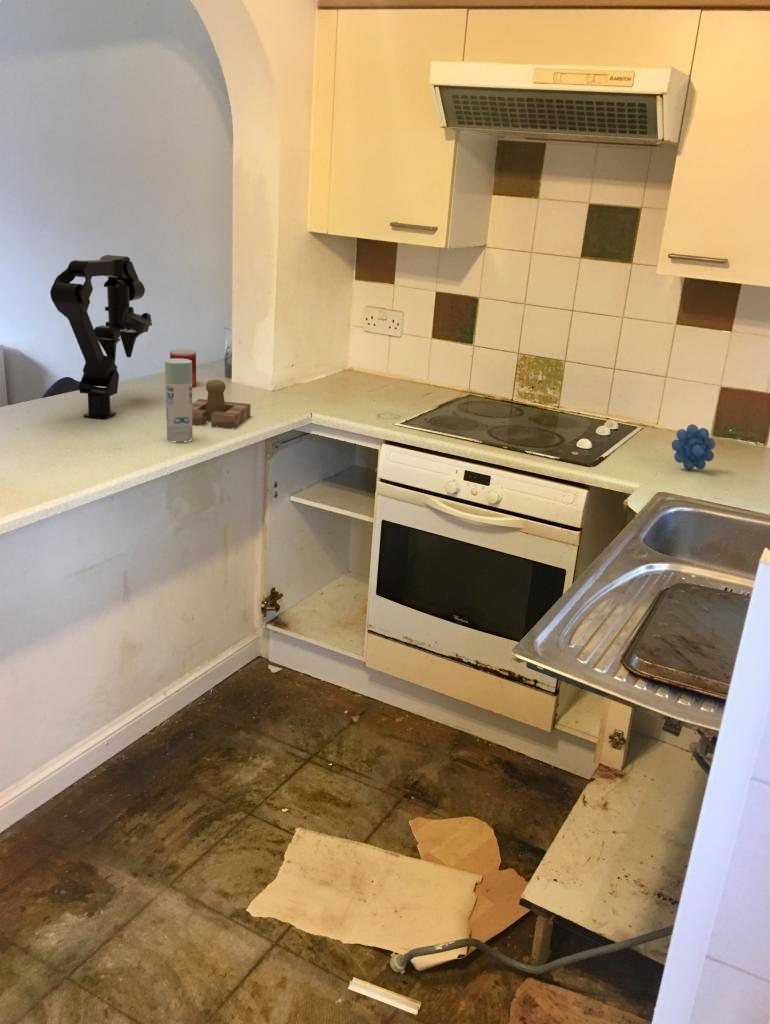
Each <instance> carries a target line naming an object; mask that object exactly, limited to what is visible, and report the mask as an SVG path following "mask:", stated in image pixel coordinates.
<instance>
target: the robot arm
mask: <svg viewBox="0 0 770 1024" xmlns="http://www.w3.org/2000/svg"><path fill="white" fill-rule="evenodd" d="M102 276H103V277H106V278H107V279H106V281H105V282H104V283H103V287H104V288H107V289H106V291H107V293H106V294H107V306H104V312H105V311H106V312H107V314H108V321H105V325H98V326H95V327H93V323H92V321H91V318H90V316H89V312H88V310H89V306H90V303H91V300H90V297H91V295H92V293H93V291H94V287H93V284H92V283H93V282H92V277H102ZM77 277H78V278H84V279H85V281H84V283H83V284H81V283H74V282H73V281H74V280H75V278H77ZM71 282H73V283H71ZM145 292H146V288H145V286H144V284H143V282H142V281H141V280H140V279H139V276H138V273H137V272H136V269H135V267H134V263H133V262H132V261H131V258H130V257H129V256H126V255H125V256H124V255H123V256H122V255H113V254H105V255H103V256H101V257H100V259H97V260H95V259H94V260H93V259H92V260H91V259H90V260H78V259H74V260H71V261H70V262H69V263H68V266H67V268H66V269H64V270H62V272H61V273H60V274H58V275H57V276H56V277H55V280H54V282H53V284H52V286H51V288H50V293H49V295H50V299H51V301H52V303H53V305H54V307H55V308H56V310H57V311H58V312H59V313H60V314H61V315H62V316H65V317H66V318H67V320H68V321H69V324H70V328H71V330H72V332H73V335H74V337H75V339H76V342H77V344H78V347H79V349H80V352H81V354H82V356H83V358H84V361H85V362H84V366H83V368H82V371H83V375H82V377H81V380H80V382H79V384H78V389H79V390H78V391H79V393H80V394H87V404H88V405H87V406H88V407H87V408H88V412H86V413H84V414H83V415H82V416H83V417H84V418H93V419H101V420H102V419H103V420H107V419H109V418H111V417H112V416H114V415H117V412H115V411H112V410H111V396H113V395H116V394H117V393H118V388H119V380H120V375H119V374H120V373H119V372H118V366H117V365H116V359H117V358H116V357H117V356H116V355H117V344H118V343H119V342H120V341H121V342H122V347H123V349H124V353H125V356H126V358H132V354H133V350H134V346H135V343H136V340H137V338H138V337H139V336H141V335H142V334H144V333H148V332H149V329H150V327H152V326H153V323H152V316H151V314H150V313H148V312H144V313H142V314H139V313H138V314H137V313H135V312H134V310H135V309H134V306H130V305H131V304H130V301H136V300H140V299H142V298H143V297H144V295H145ZM103 351H104V352H105V354H106V355H104V352H103Z"/></svg>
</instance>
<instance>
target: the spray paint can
mask: <svg viewBox="0 0 770 1024" xmlns="http://www.w3.org/2000/svg"><path fill="white" fill-rule="evenodd" d="M164 374H165V376H164V378H165V379H164V380H165V381H164V382H165V408H166V409H165V411H166V412H165V413H166V414H165V415H166V439H167V441H168V440H170V441H176V442H184V441H189V440H191V439H192V440H193V425H192V403H193V388H192V361H191V360H188V359H181V358H173V359H170V358H167V359H165V360H164ZM170 441H169V442H170Z"/></svg>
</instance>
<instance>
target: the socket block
mask: <svg viewBox="0 0 770 1024" xmlns="http://www.w3.org/2000/svg"><path fill="white" fill-rule="evenodd" d="M206 405H207V399H204V398H198V399H197V400H195V401H192V424H194V425H193V426H198V425H203V424H204V425H206V424H207V423H208V422H207V410H206ZM225 409H226V412H219V411H215V412H214V413H212V414H211V422H210V423H211V424H210V425H211V426H217V427H225V428H224V429H227V428H235V427H236V428H238V427H239V426H240V425H241V424H242V423H244V422H245V421H247V419H249V418H250V417H251V404H250V403H245V402H232V401H225ZM206 422H207V423H206ZM205 423H206V424H205ZM239 424H240V425H239ZM204 425H203V426H204ZM238 425H239V426H238ZM217 427H216V428H217ZM236 428H235V429H236Z"/></svg>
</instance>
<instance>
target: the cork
mask: <svg viewBox="0 0 770 1024" xmlns="http://www.w3.org/2000/svg"><path fill="white" fill-rule="evenodd" d="M205 389H206V391H207V392H208V393H207V398H206V400H207V405H206V410H207V421H211V414H212V413H214V412H215V411H219V412H226V409H225V402H226V400H225V395H224V394H225V393H224V392H225V391H226V384H225V382H224V381H223V380H219V379H211V380H208V381H207V382H206V385H205Z"/></svg>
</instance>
